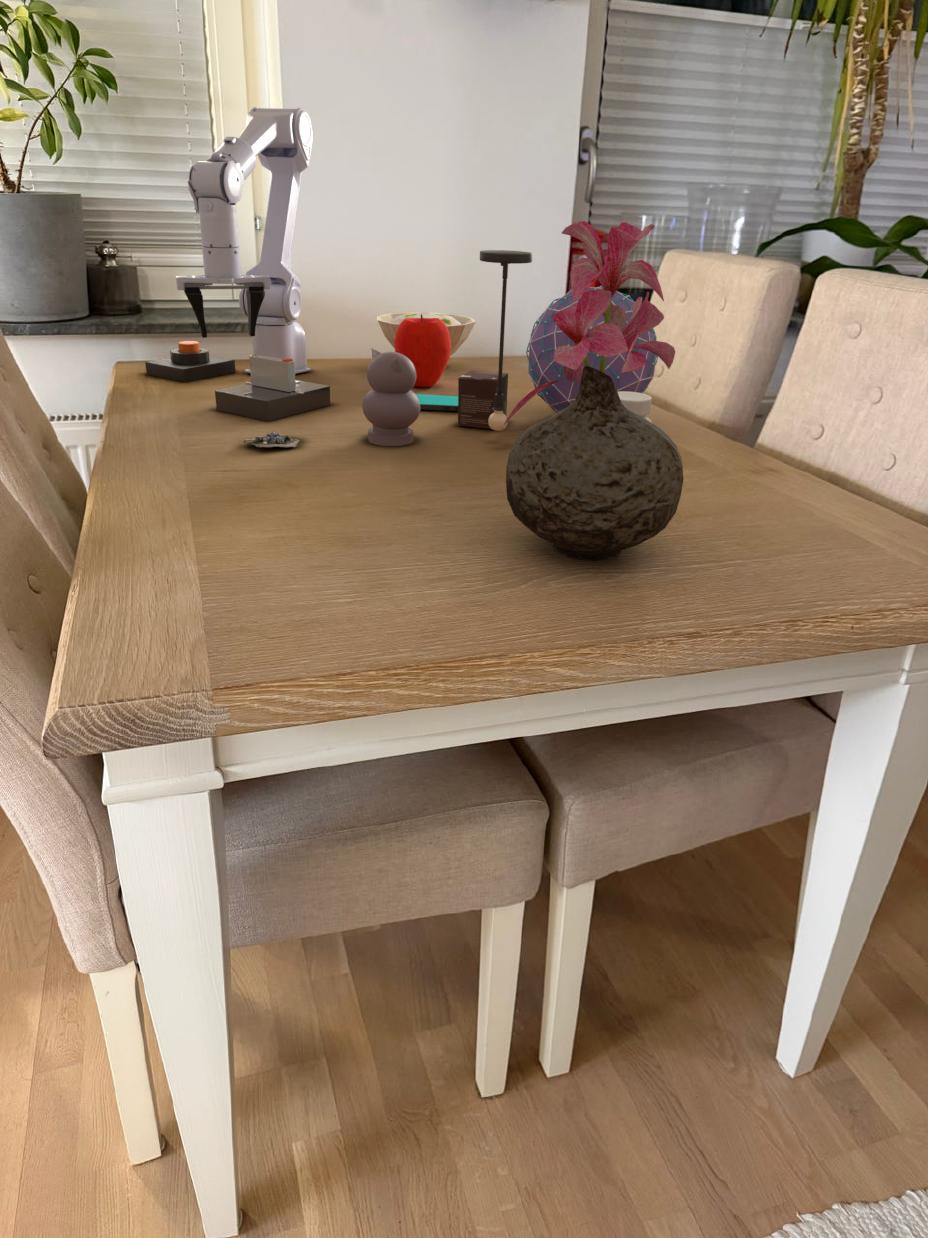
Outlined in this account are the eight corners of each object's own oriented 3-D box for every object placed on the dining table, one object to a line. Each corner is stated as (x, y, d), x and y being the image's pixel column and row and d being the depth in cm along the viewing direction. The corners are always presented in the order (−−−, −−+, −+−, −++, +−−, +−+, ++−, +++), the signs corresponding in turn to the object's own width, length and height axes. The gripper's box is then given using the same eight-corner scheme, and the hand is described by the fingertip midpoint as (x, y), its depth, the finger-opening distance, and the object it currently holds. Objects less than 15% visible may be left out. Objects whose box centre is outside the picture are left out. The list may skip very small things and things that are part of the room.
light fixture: (468, 439, 126) (474, 249, 115) (513, 438, 127) (524, 250, 116) (479, 452, 120) (487, 253, 109) (526, 451, 122) (539, 254, 111)
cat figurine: (431, 444, 123) (432, 355, 118) (380, 451, 120) (379, 359, 114) (401, 430, 130) (401, 345, 124) (352, 436, 126) (350, 348, 121)
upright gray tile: (251, 385, 140) (248, 354, 138) (258, 383, 141) (256, 352, 139) (289, 392, 136) (287, 360, 134) (296, 390, 137) (294, 359, 135)
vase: (701, 549, 90) (752, 227, 77) (602, 600, 79) (641, 230, 66) (568, 509, 101) (593, 217, 87) (463, 548, 89) (473, 219, 76)
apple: (441, 378, 164) (442, 309, 159) (457, 390, 156) (459, 317, 150) (388, 380, 161) (388, 309, 156) (402, 392, 153) (402, 317, 147)
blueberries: (233, 445, 120) (232, 431, 119) (280, 434, 125) (279, 421, 125) (265, 455, 116) (264, 441, 115) (312, 444, 122) (311, 430, 121)
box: (507, 421, 136) (509, 372, 133) (495, 430, 131) (497, 380, 128) (469, 417, 138) (471, 369, 135) (456, 426, 133) (457, 376, 130)
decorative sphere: (610, 388, 120) (532, 272, 123) (550, 464, 138) (483, 360, 141) (709, 349, 129) (634, 241, 132) (641, 424, 147) (576, 328, 150)
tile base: (277, 394, 148) (276, 375, 147) (333, 405, 143) (332, 385, 141) (213, 409, 138) (211, 388, 136) (271, 421, 132) (270, 400, 130)
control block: (197, 364, 169) (195, 343, 167) (235, 371, 164) (233, 349, 162) (146, 374, 160) (143, 351, 158) (184, 381, 155) (182, 358, 153)
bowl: (387, 355, 184) (387, 304, 180) (480, 360, 182) (482, 308, 178) (365, 372, 167) (364, 316, 163) (467, 378, 165) (469, 322, 160)
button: (190, 349, 163) (189, 339, 162) (204, 352, 161) (203, 342, 160) (174, 352, 160) (173, 342, 159) (188, 354, 158) (187, 344, 157)
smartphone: (401, 393, 148) (491, 397, 147) (401, 398, 148) (491, 402, 147) (394, 403, 141) (489, 407, 140) (394, 408, 141) (489, 412, 140)
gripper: (174, 248, 135) (184, 341, 141) (271, 248, 139) (276, 338, 145) (171, 244, 141) (181, 334, 147) (264, 245, 145) (269, 331, 151)
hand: (228, 335), depth 147 cm, fingers open, 7 cm apart
